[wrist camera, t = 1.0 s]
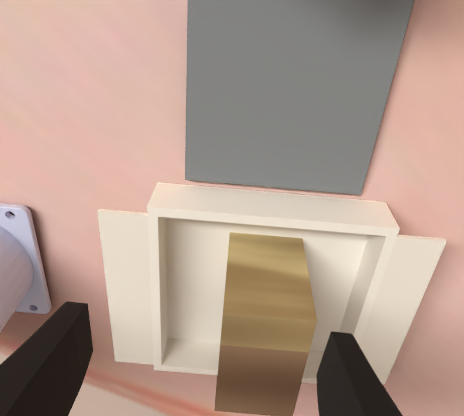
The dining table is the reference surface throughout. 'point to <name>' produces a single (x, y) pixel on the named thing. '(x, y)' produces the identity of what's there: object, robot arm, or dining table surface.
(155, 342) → the white tray
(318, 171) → the mat
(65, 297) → the dining table surface
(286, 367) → the walnut block
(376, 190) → the dining table surface
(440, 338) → the dining table surface
